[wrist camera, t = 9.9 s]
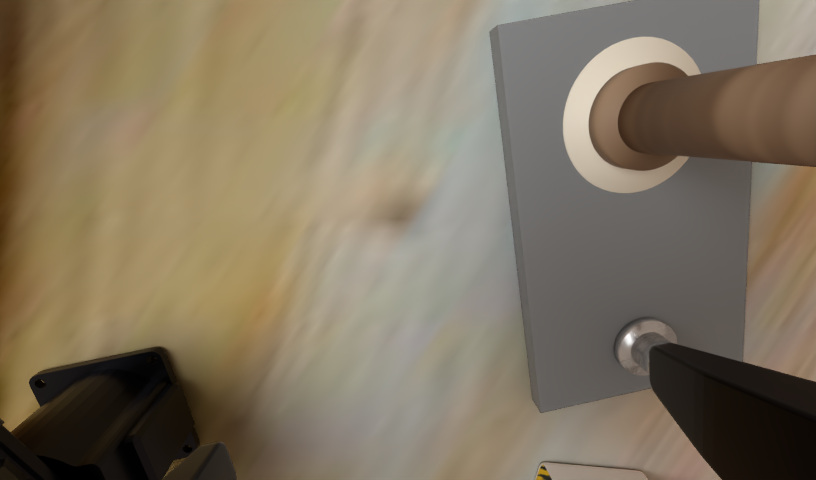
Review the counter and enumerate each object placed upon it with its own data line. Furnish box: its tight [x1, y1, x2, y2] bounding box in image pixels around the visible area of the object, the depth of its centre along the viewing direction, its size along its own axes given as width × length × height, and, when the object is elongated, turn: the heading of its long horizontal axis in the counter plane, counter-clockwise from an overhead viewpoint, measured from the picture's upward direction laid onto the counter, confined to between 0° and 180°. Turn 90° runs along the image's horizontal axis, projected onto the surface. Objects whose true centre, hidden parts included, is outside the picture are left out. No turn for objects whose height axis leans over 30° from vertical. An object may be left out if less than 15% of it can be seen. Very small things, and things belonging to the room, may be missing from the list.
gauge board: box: [490, 0, 759, 413], centre depth 21 cm, size 12×20×1 cm, turn 10°
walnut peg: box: [589, 55, 816, 171], centre depth 14 cm, size 5×5×12 cm
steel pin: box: [613, 317, 677, 376], centre depth 21 cm, size 3×3×3 cm
